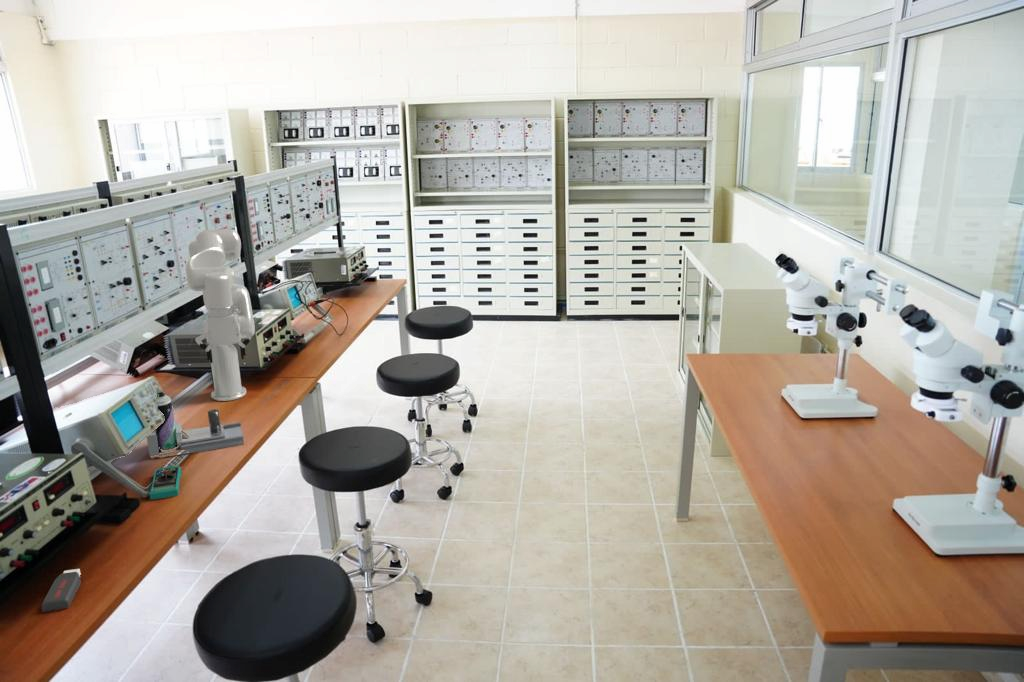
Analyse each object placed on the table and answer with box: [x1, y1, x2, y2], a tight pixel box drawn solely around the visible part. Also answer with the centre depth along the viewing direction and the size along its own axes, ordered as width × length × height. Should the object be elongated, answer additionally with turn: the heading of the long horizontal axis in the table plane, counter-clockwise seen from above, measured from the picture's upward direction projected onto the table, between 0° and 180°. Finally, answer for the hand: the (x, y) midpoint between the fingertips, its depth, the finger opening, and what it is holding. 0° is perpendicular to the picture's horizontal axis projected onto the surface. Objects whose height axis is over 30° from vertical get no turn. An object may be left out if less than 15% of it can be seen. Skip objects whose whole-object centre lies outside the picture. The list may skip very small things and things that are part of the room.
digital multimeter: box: [149, 465, 183, 500], centre depth 200 cm, size 7×15×3 cm, turn 21°
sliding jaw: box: [175, 409, 225, 449], centre depth 223 cm, size 8×14×9 cm, turn 115°
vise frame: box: [146, 421, 245, 458], centre depth 223 cm, size 12×28×8 cm, turn 115°
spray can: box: [155, 390, 178, 450], centre depth 217 cm, size 6×6×20 cm
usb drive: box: [41, 568, 82, 613], centre depth 156 cm, size 5×12×3 cm, turn 15°
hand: (227, 359), depth 227 cm, fingers open, 9 cm apart
